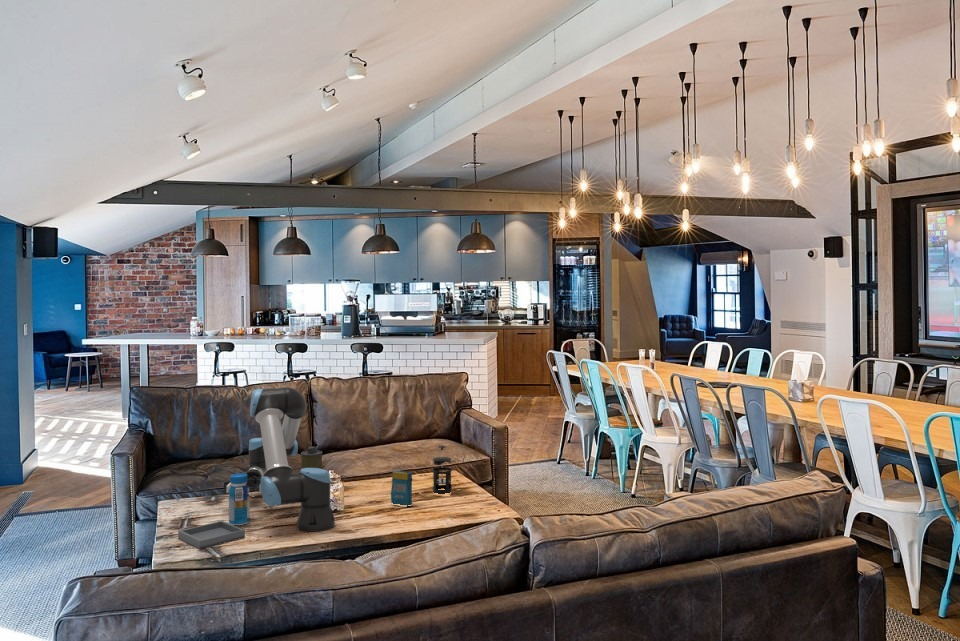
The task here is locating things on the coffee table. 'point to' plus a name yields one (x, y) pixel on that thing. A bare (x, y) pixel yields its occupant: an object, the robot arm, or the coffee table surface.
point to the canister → (311, 458)
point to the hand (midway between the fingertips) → (243, 489)
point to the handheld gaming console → (401, 488)
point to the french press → (436, 475)
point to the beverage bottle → (239, 500)
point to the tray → (211, 534)
